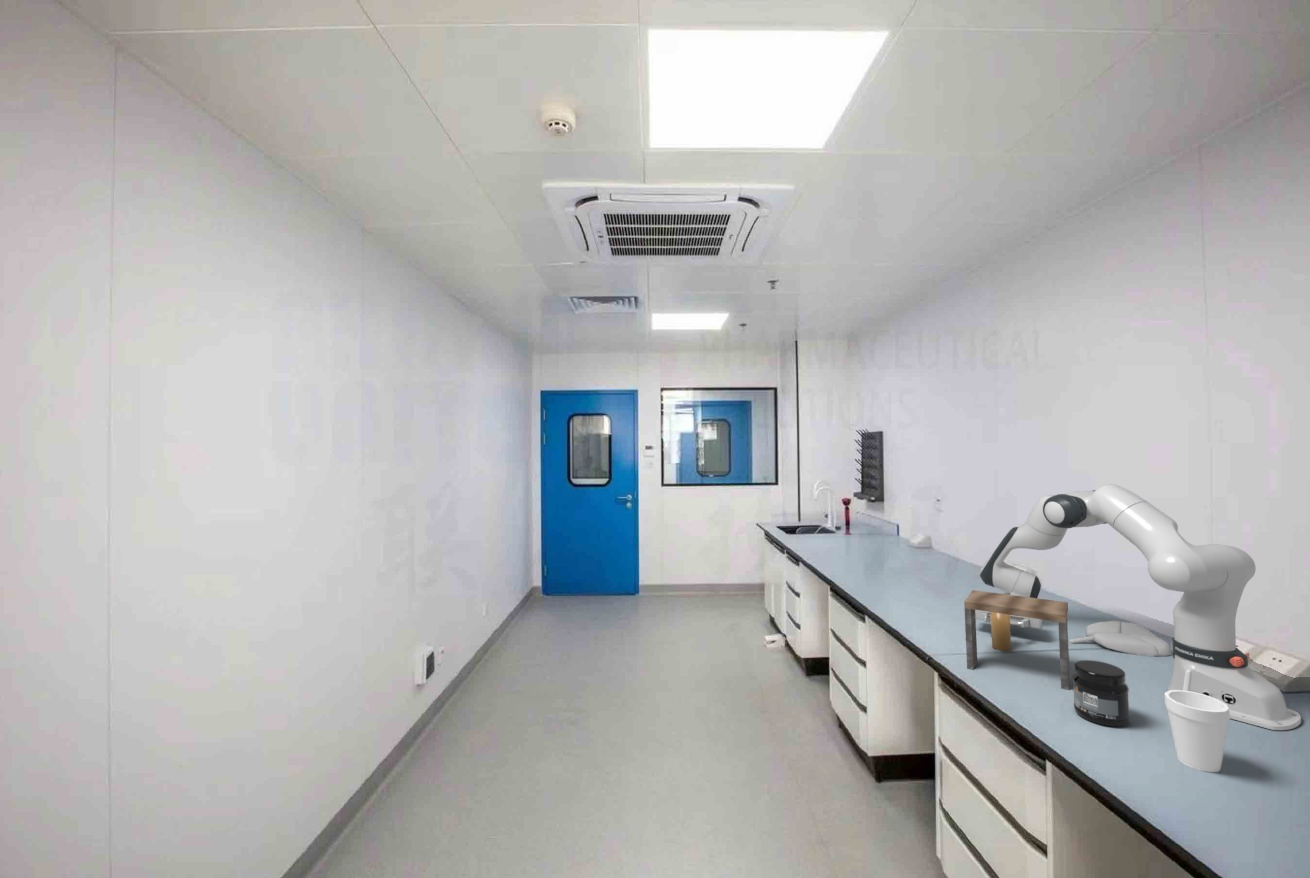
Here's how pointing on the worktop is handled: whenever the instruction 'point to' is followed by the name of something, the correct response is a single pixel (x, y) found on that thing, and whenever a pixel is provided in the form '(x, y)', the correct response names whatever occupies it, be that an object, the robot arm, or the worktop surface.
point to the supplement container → (1101, 693)
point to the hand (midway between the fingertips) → (1003, 622)
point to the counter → (1017, 608)
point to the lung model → (1125, 638)
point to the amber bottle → (1000, 631)
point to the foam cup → (1198, 728)
